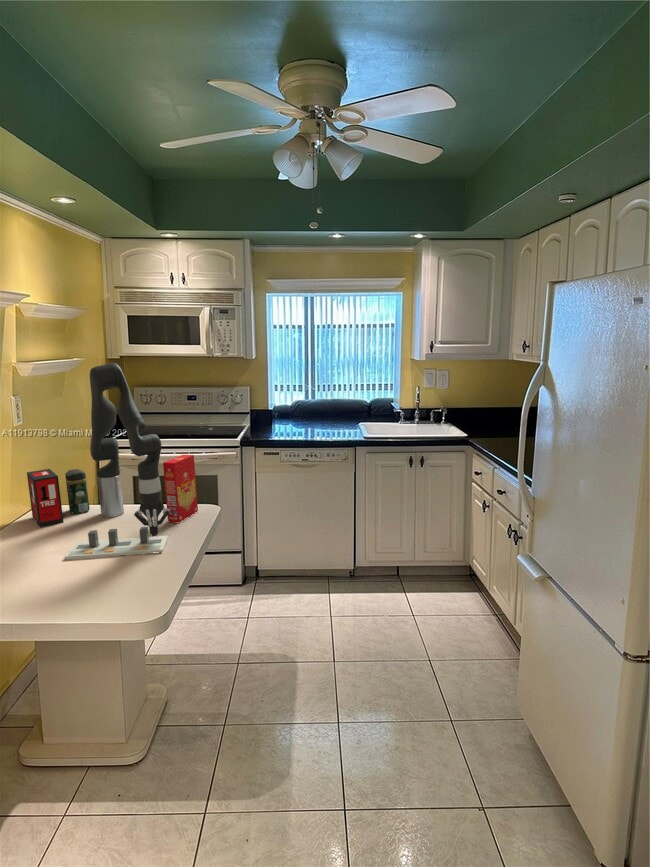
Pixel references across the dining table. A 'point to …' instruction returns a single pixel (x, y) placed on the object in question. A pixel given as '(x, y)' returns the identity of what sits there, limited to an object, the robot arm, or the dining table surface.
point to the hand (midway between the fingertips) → (154, 535)
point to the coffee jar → (77, 491)
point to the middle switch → (113, 536)
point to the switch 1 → (93, 538)
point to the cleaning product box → (45, 497)
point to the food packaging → (180, 487)
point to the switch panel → (117, 548)
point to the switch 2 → (144, 535)
